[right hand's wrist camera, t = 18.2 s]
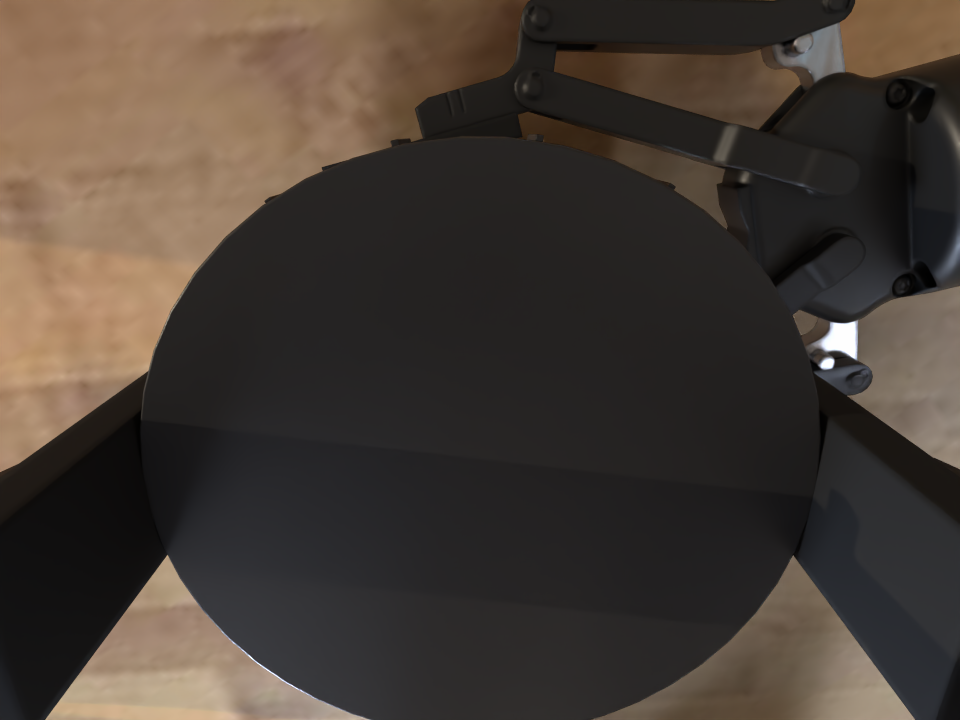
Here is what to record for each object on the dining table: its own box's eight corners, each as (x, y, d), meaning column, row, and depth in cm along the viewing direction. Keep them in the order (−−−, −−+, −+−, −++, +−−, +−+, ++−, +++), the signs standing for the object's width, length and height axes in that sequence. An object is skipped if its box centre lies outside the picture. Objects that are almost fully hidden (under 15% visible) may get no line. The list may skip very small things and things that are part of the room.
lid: (623, 699, 14) (647, 793, 12) (153, 573, 13) (93, 655, 11) (875, 263, 11) (968, 293, 9) (262, 32, 10) (202, 4, 8)
